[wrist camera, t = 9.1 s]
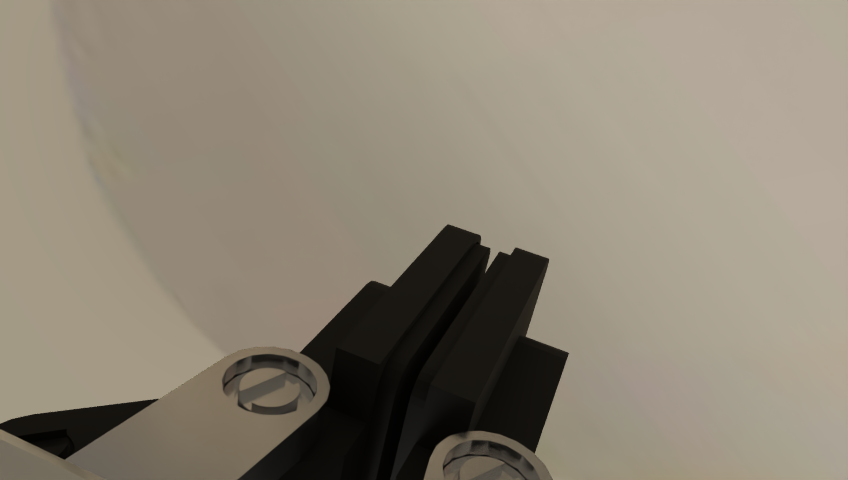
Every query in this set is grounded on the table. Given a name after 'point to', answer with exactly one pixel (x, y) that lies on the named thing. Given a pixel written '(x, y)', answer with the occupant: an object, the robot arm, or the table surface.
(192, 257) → the table surface
